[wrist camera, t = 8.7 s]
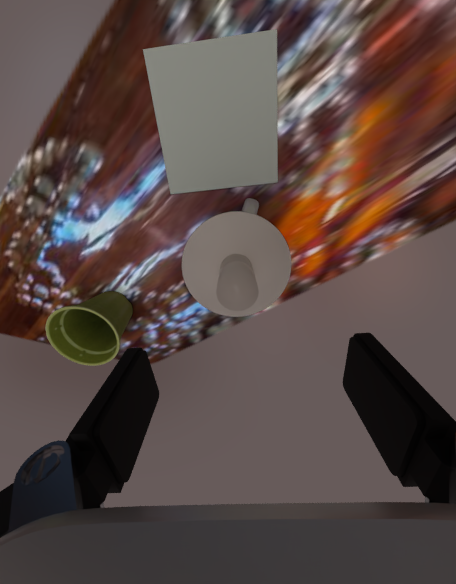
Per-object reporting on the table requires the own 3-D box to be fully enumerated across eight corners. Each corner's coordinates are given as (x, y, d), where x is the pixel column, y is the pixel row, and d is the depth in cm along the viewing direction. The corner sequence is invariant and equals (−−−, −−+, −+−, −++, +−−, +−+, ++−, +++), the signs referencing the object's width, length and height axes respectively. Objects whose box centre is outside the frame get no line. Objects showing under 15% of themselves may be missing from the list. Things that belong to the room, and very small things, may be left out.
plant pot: (83, 275, 34) (39, 300, 26) (144, 286, 35) (118, 314, 27) (88, 325, 38) (50, 359, 30) (142, 334, 39) (119, 370, 31)
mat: (276, 31, 23) (276, 29, 22) (277, 182, 28) (277, 182, 28) (144, 51, 23) (143, 49, 23) (171, 194, 29) (170, 194, 29)
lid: (290, 205, 22) (313, 210, 16) (288, 309, 27) (305, 344, 21) (174, 217, 23) (151, 226, 16) (192, 315, 28) (180, 352, 21)
